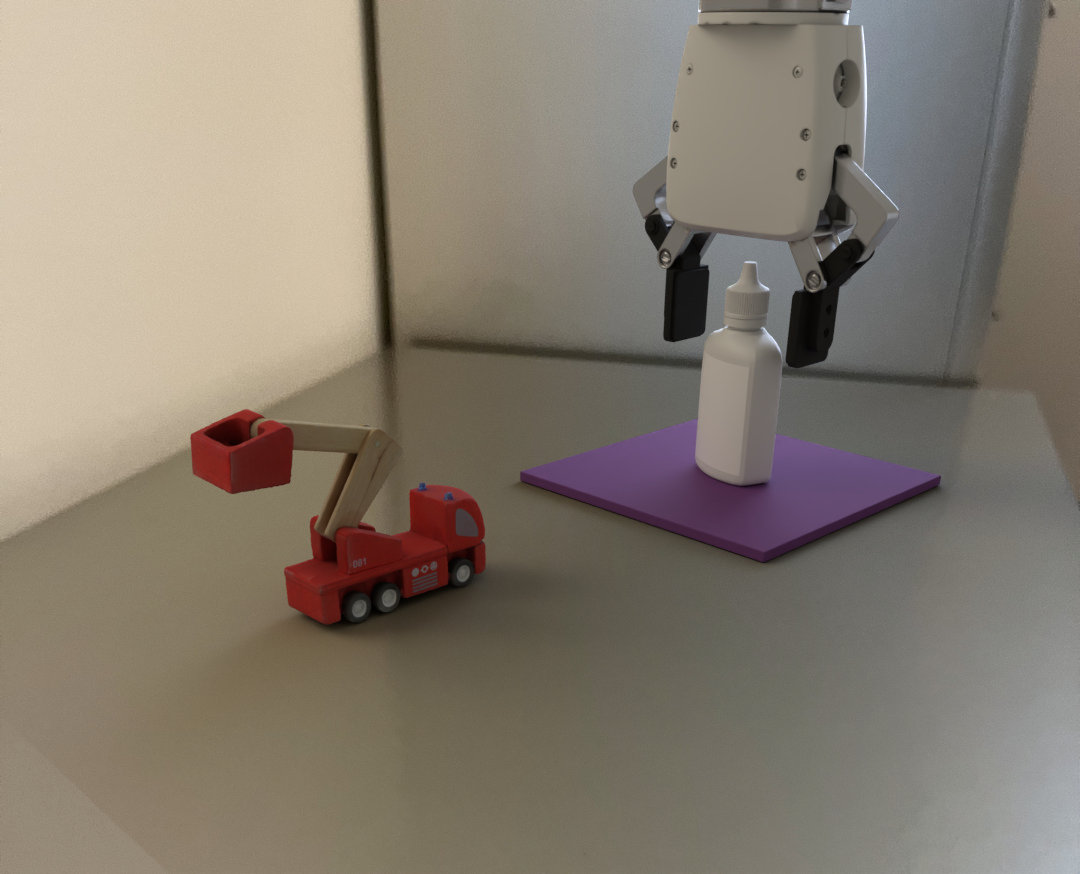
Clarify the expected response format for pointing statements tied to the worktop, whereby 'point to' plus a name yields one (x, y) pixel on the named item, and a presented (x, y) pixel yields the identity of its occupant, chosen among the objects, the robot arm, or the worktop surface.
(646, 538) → the worktop surface
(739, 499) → the purple square mat
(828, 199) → the robot arm
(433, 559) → the toy fire truck
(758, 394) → the eye dropper bottle
